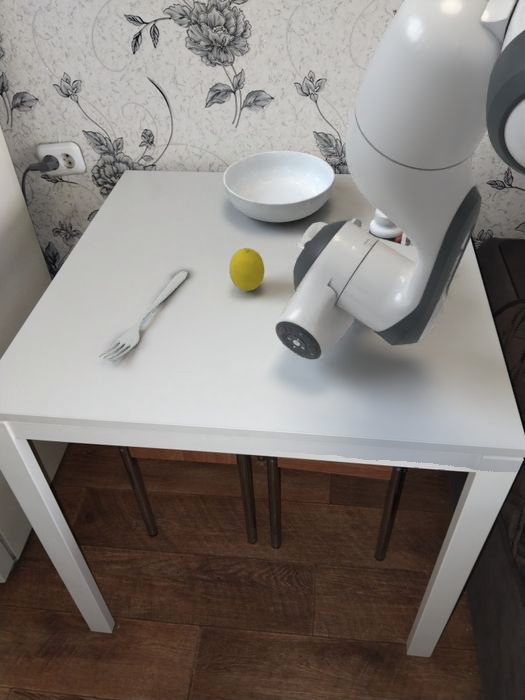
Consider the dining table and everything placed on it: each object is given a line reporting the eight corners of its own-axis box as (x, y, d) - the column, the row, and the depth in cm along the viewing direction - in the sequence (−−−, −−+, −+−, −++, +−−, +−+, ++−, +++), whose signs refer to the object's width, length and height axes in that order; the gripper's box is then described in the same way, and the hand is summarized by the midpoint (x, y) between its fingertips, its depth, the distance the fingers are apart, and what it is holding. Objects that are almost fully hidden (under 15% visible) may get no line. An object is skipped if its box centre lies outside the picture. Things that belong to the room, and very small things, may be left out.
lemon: (266, 280, 98) (264, 239, 92) (263, 301, 94) (261, 260, 88) (233, 279, 98) (230, 238, 93) (229, 300, 94) (225, 259, 89)
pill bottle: (396, 273, 97) (404, 222, 90) (363, 269, 98) (369, 218, 91) (399, 254, 101) (407, 203, 94) (367, 251, 102) (372, 200, 95)
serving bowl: (336, 182, 120) (337, 150, 116) (329, 240, 106) (331, 206, 101) (235, 178, 123) (233, 147, 118) (215, 234, 108) (212, 201, 103)
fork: (193, 273, 100) (192, 265, 99) (116, 370, 84) (114, 361, 83) (177, 269, 101) (175, 261, 100) (97, 365, 85) (95, 356, 84)
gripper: (420, 280, 79) (453, 230, 88) (287, 240, 87) (329, 198, 96) (413, 316, 84) (445, 264, 92) (288, 275, 92) (327, 231, 100)
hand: (385, 230), depth 94 cm, fingers open, 8 cm apart
